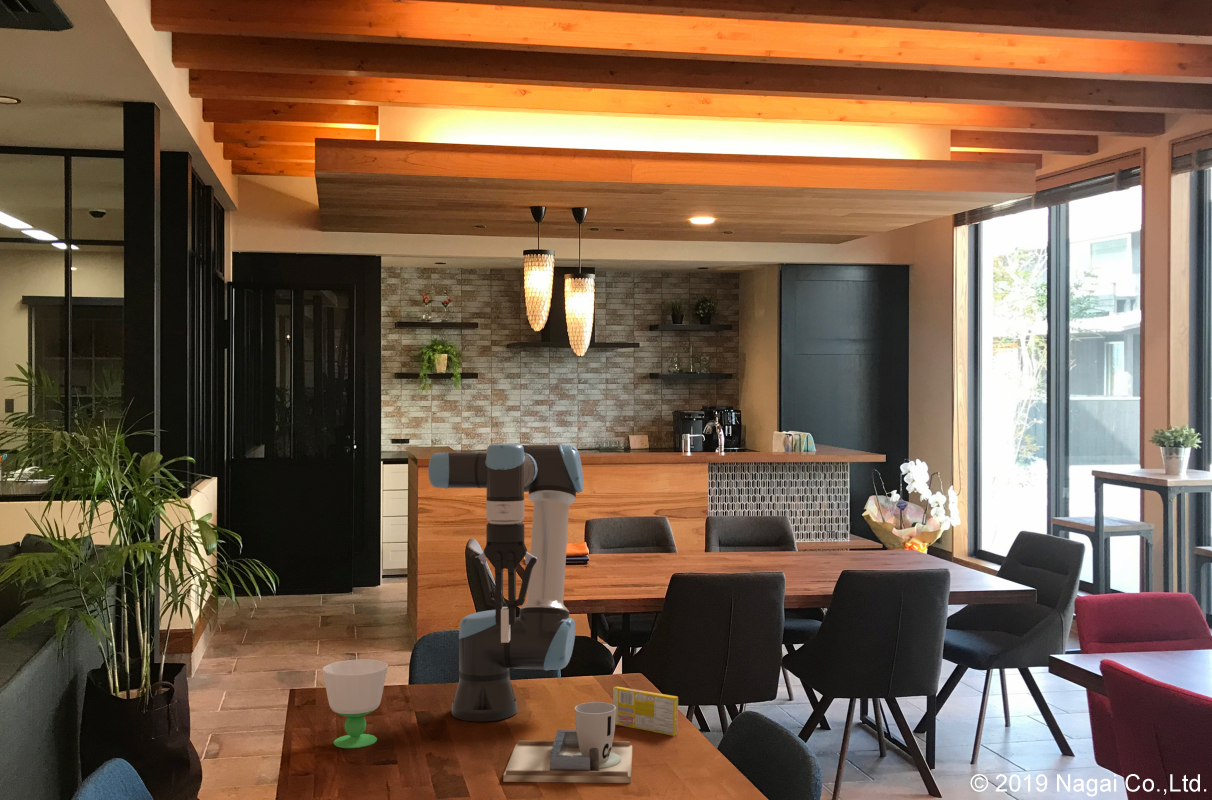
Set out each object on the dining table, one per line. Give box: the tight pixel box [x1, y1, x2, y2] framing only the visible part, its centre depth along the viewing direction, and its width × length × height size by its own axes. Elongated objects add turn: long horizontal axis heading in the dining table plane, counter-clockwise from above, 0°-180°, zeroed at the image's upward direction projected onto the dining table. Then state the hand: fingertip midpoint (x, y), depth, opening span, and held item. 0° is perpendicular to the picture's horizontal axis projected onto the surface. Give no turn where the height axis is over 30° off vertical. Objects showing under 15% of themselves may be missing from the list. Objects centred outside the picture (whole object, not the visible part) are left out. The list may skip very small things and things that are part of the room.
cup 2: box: [574, 701, 616, 763], centre depth 198 cm, size 8×8×10 cm
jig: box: [502, 739, 633, 784], centre depth 198 cm, size 24×18×5 cm
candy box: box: [612, 686, 679, 737], centre depth 222 cm, size 16×2×8 cm, turn 55°
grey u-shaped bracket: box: [550, 729, 590, 771], centre depth 198 cm, size 8×16×3 cm, turn 178°
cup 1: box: [322, 658, 389, 749], centre depth 214 cm, size 14×14×16 cm
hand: (505, 640), depth 199 cm, fingers closed
